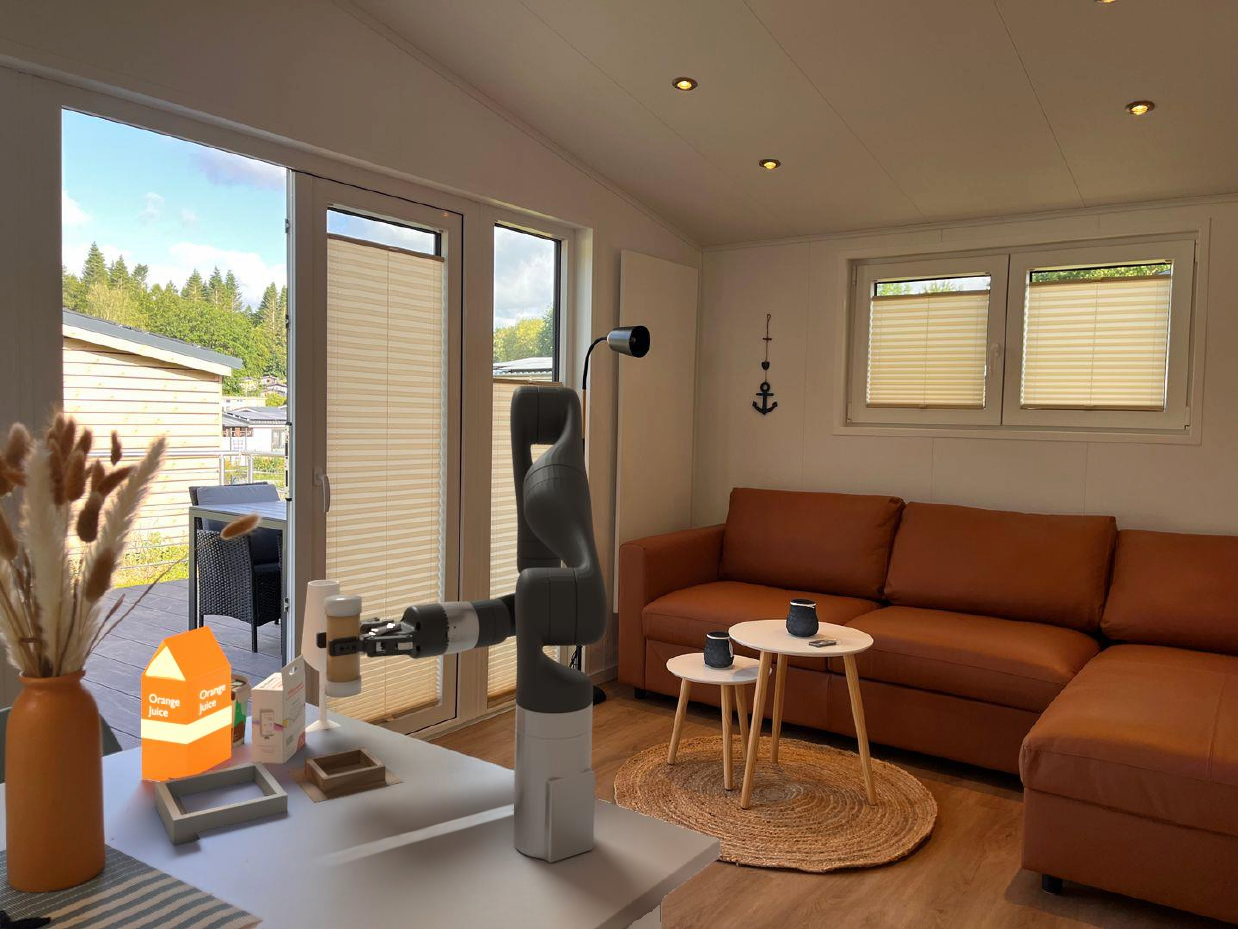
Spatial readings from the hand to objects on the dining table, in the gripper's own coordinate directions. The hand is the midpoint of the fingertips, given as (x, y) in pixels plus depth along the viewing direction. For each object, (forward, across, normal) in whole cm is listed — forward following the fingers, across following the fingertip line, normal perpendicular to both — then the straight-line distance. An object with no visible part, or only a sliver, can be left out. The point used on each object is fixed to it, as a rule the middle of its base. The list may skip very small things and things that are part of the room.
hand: (323, 644), depth 121 cm
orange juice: (+14, -16, +20) cm, 29 cm away
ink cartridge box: (+2, -14, +20) cm, 25 cm away
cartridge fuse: (-3, 0, +7) cm, 8 cm away
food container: (+7, -25, +20) cm, 33 cm away
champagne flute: (-7, -22, +20) cm, 31 cm away
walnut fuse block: (-3, 0, +20) cm, 20 cm away
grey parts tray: (+13, 0, +20) cm, 24 cm away
